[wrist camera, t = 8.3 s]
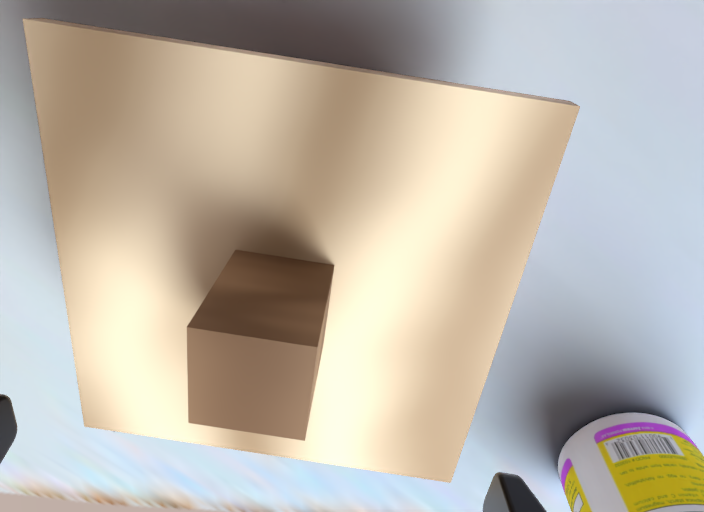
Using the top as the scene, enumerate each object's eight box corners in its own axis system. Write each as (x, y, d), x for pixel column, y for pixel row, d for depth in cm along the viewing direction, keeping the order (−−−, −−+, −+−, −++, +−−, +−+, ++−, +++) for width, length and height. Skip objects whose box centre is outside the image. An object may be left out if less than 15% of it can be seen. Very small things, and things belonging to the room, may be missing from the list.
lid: (569, 101, 13) (658, 147, 9) (448, 465, 19) (465, 595, 15) (42, 18, 13) (-129, 23, 9) (95, 410, 19) (12, 526, 15)
